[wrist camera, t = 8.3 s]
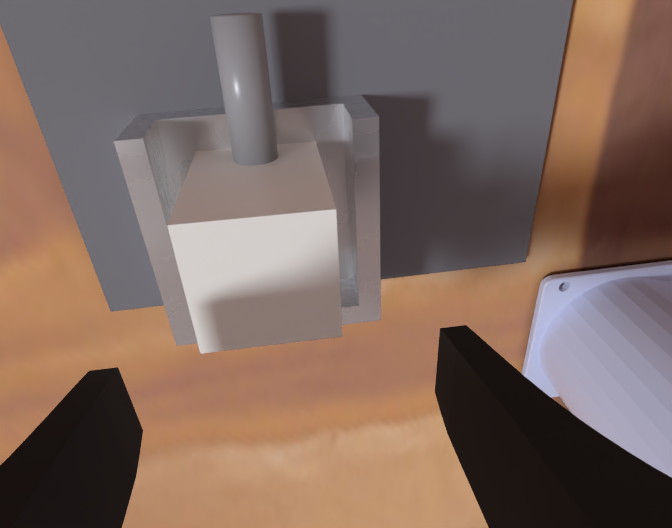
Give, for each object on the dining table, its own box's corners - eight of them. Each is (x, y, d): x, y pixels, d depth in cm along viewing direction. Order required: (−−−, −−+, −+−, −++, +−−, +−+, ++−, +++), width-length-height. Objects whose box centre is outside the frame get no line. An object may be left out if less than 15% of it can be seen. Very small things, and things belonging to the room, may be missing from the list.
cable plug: (306, 7, 14) (326, 24, 9) (322, 243, 18) (342, 336, 14) (168, 15, 14) (117, 37, 9) (217, 254, 18) (200, 353, 13)
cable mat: (599, -191, 14) (608, -195, 13) (521, 257, 22) (525, 261, 21) (-64, -163, 12) (-74, -167, 12) (113, 305, 20) (111, 311, 20)
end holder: (361, 94, 16) (379, 117, 14) (366, 277, 20) (380, 320, 18) (137, 114, 16) (113, 141, 13) (187, 298, 20) (176, 345, 17)
